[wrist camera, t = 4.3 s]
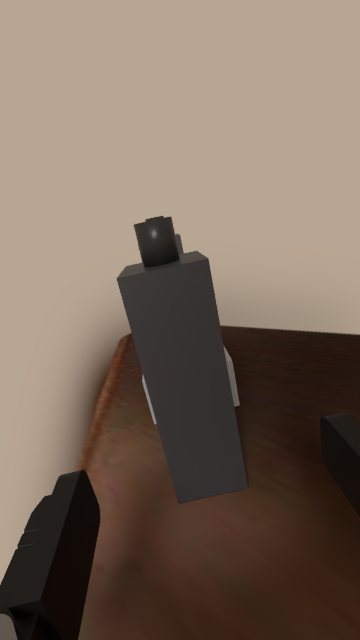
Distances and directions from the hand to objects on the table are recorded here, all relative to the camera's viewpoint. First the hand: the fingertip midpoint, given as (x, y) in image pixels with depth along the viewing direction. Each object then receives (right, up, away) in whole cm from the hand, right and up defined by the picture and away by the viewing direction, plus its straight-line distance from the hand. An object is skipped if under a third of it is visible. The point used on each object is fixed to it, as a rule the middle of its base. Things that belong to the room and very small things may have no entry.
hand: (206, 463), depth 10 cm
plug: (+1, -4, +9) cm, 10 cm away
